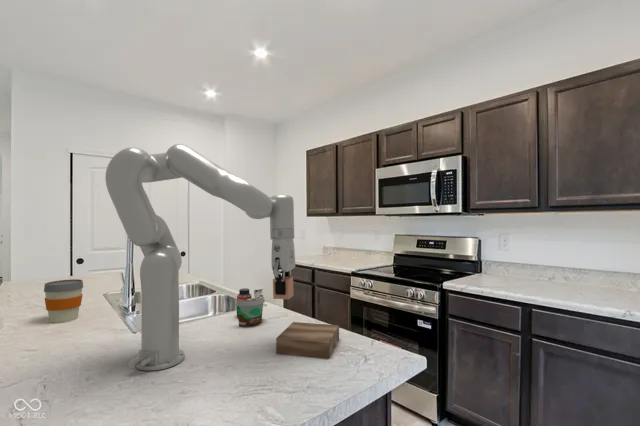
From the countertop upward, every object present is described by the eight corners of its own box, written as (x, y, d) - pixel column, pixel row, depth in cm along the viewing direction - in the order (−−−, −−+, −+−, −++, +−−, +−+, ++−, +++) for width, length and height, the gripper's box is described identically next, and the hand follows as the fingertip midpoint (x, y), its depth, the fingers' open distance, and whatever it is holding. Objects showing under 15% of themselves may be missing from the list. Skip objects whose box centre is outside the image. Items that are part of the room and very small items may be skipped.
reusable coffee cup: (88, 318, 134) (89, 281, 135) (51, 326, 124) (51, 286, 124) (75, 313, 141) (75, 278, 141) (38, 321, 130) (38, 283, 131)
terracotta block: (288, 299, 101) (288, 279, 101) (273, 298, 102) (272, 279, 102) (293, 295, 106) (293, 276, 106) (278, 294, 107) (278, 276, 107)
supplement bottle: (244, 320, 131) (244, 291, 131) (233, 317, 134) (233, 289, 134) (254, 316, 136) (254, 288, 136) (244, 314, 139) (244, 287, 139)
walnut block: (328, 360, 94) (328, 342, 94) (276, 355, 98) (276, 338, 98) (339, 340, 110) (339, 325, 110) (293, 336, 114) (293, 321, 114)
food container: (246, 330, 119) (246, 302, 119) (235, 327, 122) (235, 300, 123) (271, 321, 128) (271, 296, 129) (260, 319, 132) (260, 293, 132)
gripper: (284, 236, 95) (286, 299, 95) (301, 232, 112) (302, 286, 112) (260, 236, 97) (261, 298, 97) (280, 233, 114) (281, 286, 113)
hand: (283, 291), depth 104 cm, fingers closed on terracotta block, 5 cm apart
